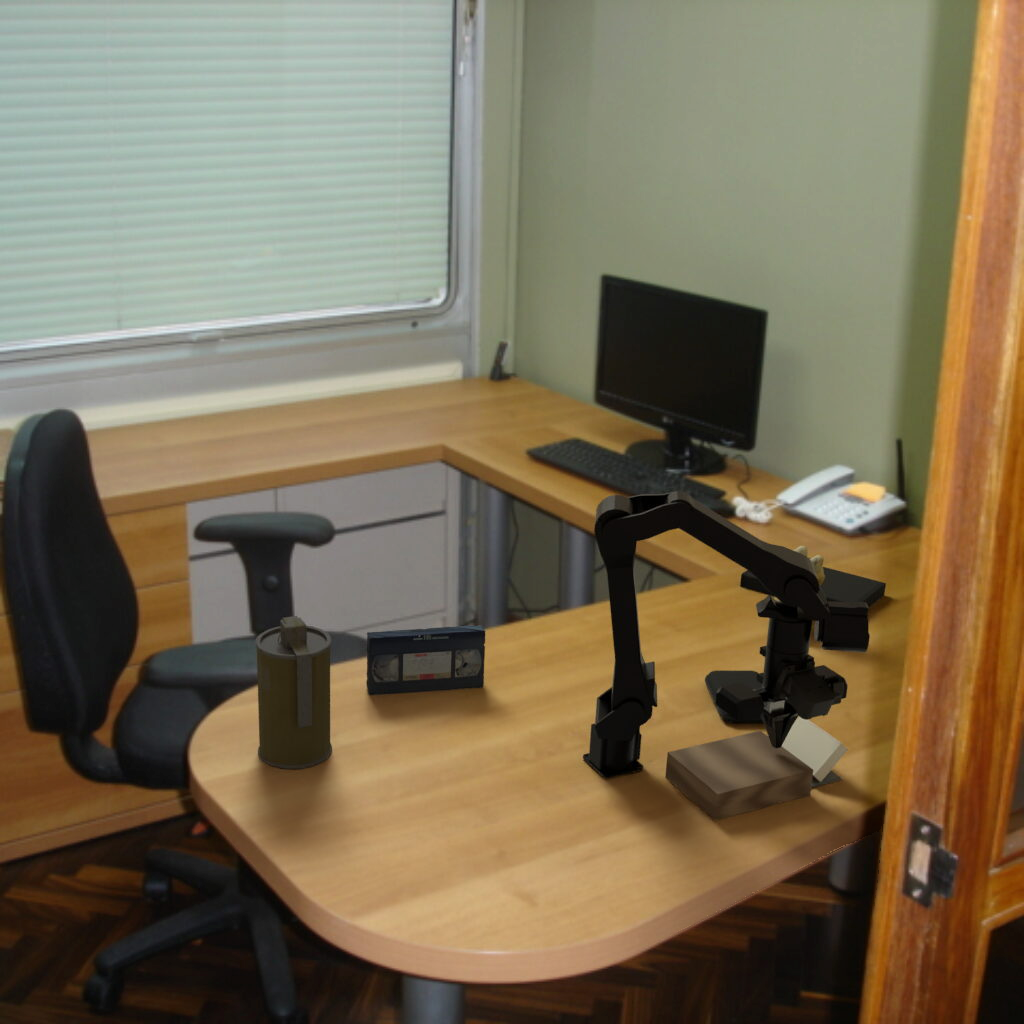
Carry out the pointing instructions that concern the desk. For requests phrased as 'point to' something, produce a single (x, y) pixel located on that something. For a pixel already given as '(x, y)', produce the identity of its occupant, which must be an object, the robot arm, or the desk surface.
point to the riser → (738, 774)
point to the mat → (826, 779)
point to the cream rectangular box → (814, 747)
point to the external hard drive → (833, 587)
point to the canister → (294, 694)
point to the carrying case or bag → (728, 678)
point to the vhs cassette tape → (425, 660)
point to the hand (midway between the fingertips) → (776, 746)
